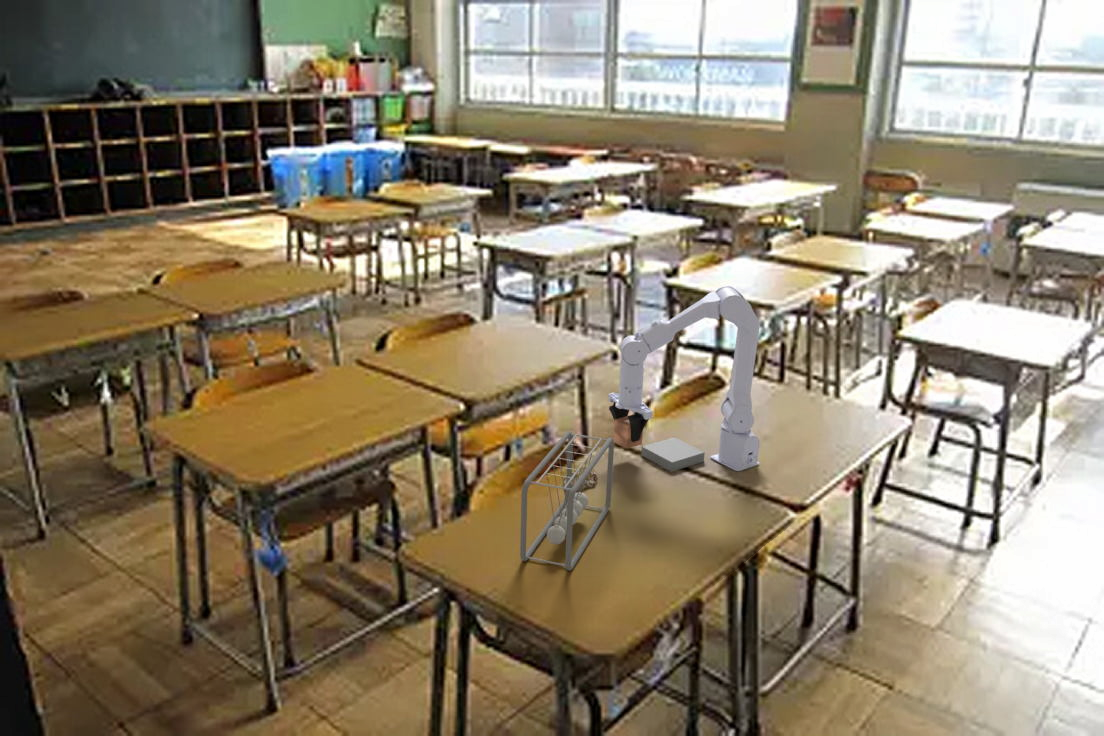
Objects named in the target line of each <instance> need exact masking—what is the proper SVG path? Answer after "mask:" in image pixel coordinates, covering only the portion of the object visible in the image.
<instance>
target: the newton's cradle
mask: <svg viewBox="0 0 1104 736" xmlns="http://www.w3.org/2000/svg"><path fill="white" fill-rule="evenodd" d="M577 437H580V438H585V439H592V440H598V441H597V442H596V444H595V445H594V447H591V446H588V449H591V451H590V452H589V453H588V454H586V453H582V455H585V456H586V458H585V459H584V460H583V461H581V464H580V466H579V467H578V468H576V466H575V462H577V463H580V461H577V460H574V454H575V452H573V449H574V448H573V447H574V440H575V439H576V438H577ZM566 441H567V444H566V445H565V447H564V448H563V450H562V451H560V449H561V447H562V446H563V445H564V444H565V443H566ZM602 441H604V444H603V445H601V448H600V449H599V450H598V451H597V453H596V454H595V455H594V457H593V458H592V455H593V452H594V451H595V450H596V448H597V447H598V446H599V444H600V443H601V442H602ZM576 446H579V447H580V445H579V444H576ZM583 447H584V448H586V445H582V448H583ZM607 450H608V455H607V470H606V473H607V474H606V491H605V502H604V507H597V506H592V505H588V504H589V498H588V496H587V494H585V493H584V492H583V491H584V489H583V488H582V490H581V491H579V490H578V489H580V486H581V485H582V483H583V482H584V483H585V479H586V478H587V476H588V475H589V473H590V472H591V471H592V469H594V468H595V467H596V465H597V463H598V462H599V461H600V459H601V458H602V456H603V455H604V454H605V452H606V451H607ZM614 450H615V442H614V437H608V438H607V439H606V438H603V437H602V438H601V437H595V436H589V435H585V434H584V435H582V434H577V433H573V432H572V431H571V430H567V431H566V432H565V433H564V434H563V435H562V436H561V438H560V439H559V440H558V441H557V442H556V443H555V445H554V446H553V447H552V448H551V450H550V451H549V452H548V453H547V454H546V456H545V457H544V458H542V460H541V462H539V463H538V464H537V466H536V467H535V468H534V469H533V471H532V472H530V474H529V476H527V478H525V480H524V481H523V485H522V488H521V495H520V496H521V499H520V501H521V503H520V541H519V542H520V544H519V550H520V551H519V552H520V553H519V557H520V560H521V561H522V562H526V561H528V560H533V561H536V562H537V561H538V562H541V563H547V564H552V565H556V566H560V567H561V566H562V567H565V569H566V570H567V571H570V572H571V571H572V570H573V569H574V567H575V566H576V564H577V562H578V561H579V560H580V558H581V556H582V554H583V553H584V551H585V549H586V548H587V547H588V545H589V543H590V541H591V540H592V538H593V536H594V535H595V533H596V532H597V530H598V528H599V527H600V525H601V523H602V522H603V520H604V518H605V517H606V515H607V513H608V512H609V510H610V508H611V502H612V488H613V487H612V485H613V473H614V471H613V469H614V453H615V451H614ZM558 451H560V453H559V454H558V455H557V456H556V458H555V459H554V460H553V461H552V462H551V464H550V465H549V466H548V467H547V469H546V470H545V471H544V473H543V474H541V476H540V477H539V479H538V480H537V481H534V480H535V479H536V477H537V476H538V475H539V474H540V472H541V471H542V470H543V469H544V468H545V467H546V465H547V464H548V463H549V462H550V461H551V459H552V458H553V457H554V456H555V454H556V453H557V452H558ZM564 453H565V458H564V460H565V461H566V467H564V466H562V463H561V462H562V461H561V460H563V458H561V456H562V455H563V454H564ZM573 453H574V454H573ZM576 454H579V455H581V453H579V452H576ZM588 459H589V461H588ZM558 460H559V461H558ZM557 461H558V462H559V466H558V465H555V463H556V462H557ZM587 461H588V464H587ZM586 465H587V466H586ZM552 467H553V473H551V476H554V479H555V485H553V484H550V481H549V475H550V473H548V472H549V471H550V470H551V468H552ZM555 467H557V468H560V473H561V475H560V474H556V470H555ZM581 467H582V468H583V467H584V470H585V471H584V470H583V473H582V475H581V476H580V477H579V476H578V480H577V478H576V483H575V484H574V481H573V484H574V486H573V485H572V488H571V481H572V479H573V478H574V480H575V477H576V474H577V473H578V471H579V470H580V471H581ZM585 467H587V468H586V469H585ZM562 468H563V469H566V474H567V476H566V485H565V487H563V486H564V482H563V480H564V478H565V475H563V469H562ZM573 470H574V472H575V470H576V472H575V473H574V472H573ZM572 473H574V475H573V476H572ZM545 475H546V477H547V483H543V482H542V483H541V480H542V479H543V478H544V477H545ZM579 475H580V472H579ZM556 476H557V477H561V479H562V484H563V485H562V486H560V485H559V486H558V485H557V484H558V483H557V477H556ZM571 476H572V477H571ZM530 484H532V485H538V486H543V487H548V490H549V491H548V492H549V499H550V503H551V505H550V506H551V511H552V516H551V518H550V519H549V520H548V522H547V523H546V524H545V525H544V527H543V528H542V529H541V531H540V533H539V534H538V535H537V536H536V538H535V540H534V541H533V542H532V543H531V545H530V546H529V547H528V549H527V524H528V523H527V522H528V519H527V518H528V491H529V486H531V485H530ZM583 487H584V484H583ZM551 488H554V489H556V493H557V498H558V506H559V507H558V508H557V509H556V510H555V512H554V508H553V507H554V506H553V502H552V493H551ZM559 489H560V490H563V491H564V499H563V501H562V502H560V495H559V491H558V490H559ZM577 490H578V492H577ZM560 503H561V504H560ZM586 508H588V509H594V510H599V511H601V512H600V513H599V515H598V517H597V518H596V520H595V522H594V523H593V525H592V526H591V528H590V530H589V531H588V533H587V534H586V536H585V537H584V539H583V540H582V542H581V544H580V545H579V547H578V549H577V551H576V552H575V553H574V555H573V557H572V551H573V550H572V548H573V547H572V545H573V527H574V526H573V525H575V524H576V523H577V521H578V517H581V515H582V514H583V511H584V509H586ZM545 537H547V540H548V542H550V543H551V544H553V545H559V544H562V543H563V542H564V541H565V558H564V560H565V561H564V563H560V562H556V561H550V560H546V559H541V558H537V557H531V556H532V555H533V553H534V552H535V550H536V549H537V547H538V546H539V544H540V543H541V542H542V540H544V538H545Z"/></svg>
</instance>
